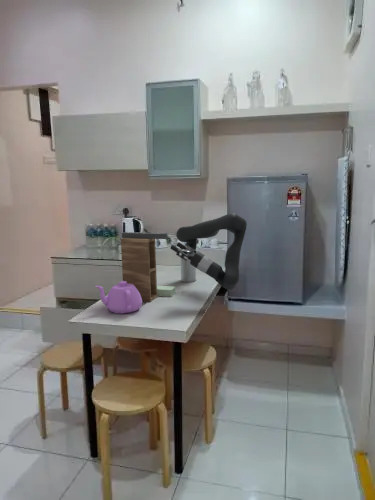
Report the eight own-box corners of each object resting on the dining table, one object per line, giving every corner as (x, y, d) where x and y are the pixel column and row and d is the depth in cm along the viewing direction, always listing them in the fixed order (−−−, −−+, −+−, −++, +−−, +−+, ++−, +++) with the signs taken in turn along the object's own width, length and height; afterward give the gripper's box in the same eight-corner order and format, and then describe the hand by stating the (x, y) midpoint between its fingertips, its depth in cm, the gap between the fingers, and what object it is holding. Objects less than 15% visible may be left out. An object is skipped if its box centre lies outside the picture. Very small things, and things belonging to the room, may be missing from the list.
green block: (148, 291, 218) (148, 284, 217) (175, 293, 212) (175, 286, 212) (143, 294, 211) (143, 288, 210) (171, 296, 206) (171, 290, 205)
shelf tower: (131, 294, 211) (128, 236, 205) (157, 297, 206) (155, 237, 200) (123, 299, 202) (120, 238, 197) (150, 302, 197) (147, 239, 192)
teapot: (92, 306, 192) (90, 279, 189) (135, 300, 200) (134, 274, 198) (101, 321, 172) (99, 290, 169) (148, 313, 180) (147, 284, 178)
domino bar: (124, 237, 202) (124, 232, 202) (167, 238, 195) (167, 233, 194) (121, 237, 200) (121, 232, 200) (165, 239, 192) (165, 233, 192)
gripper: (209, 253, 195) (182, 236, 198) (201, 258, 182) (172, 240, 185) (202, 265, 198) (175, 248, 201) (193, 272, 184) (165, 253, 187)
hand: (174, 245), depth 193 cm, fingers open, 8 cm apart
